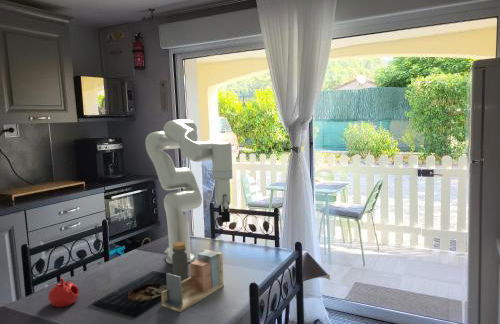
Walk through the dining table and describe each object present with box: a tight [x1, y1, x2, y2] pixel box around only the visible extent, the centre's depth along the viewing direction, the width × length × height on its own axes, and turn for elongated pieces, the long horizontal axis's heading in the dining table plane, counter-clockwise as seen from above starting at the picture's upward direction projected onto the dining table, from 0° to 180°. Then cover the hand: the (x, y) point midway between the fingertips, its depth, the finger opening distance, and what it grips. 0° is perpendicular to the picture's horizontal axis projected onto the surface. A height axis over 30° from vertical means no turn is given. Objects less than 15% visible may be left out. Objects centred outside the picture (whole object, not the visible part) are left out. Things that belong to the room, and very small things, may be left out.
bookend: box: [164, 272, 183, 308], centre depth 129 cm, size 6×2×10 cm, turn 56°
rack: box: [160, 248, 225, 313], centre depth 137 cm, size 9×23×13 cm, turn 146°
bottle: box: [171, 242, 189, 281], centre depth 150 cm, size 6×6×15 cm
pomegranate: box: [47, 277, 80, 308], centre depth 135 cm, size 10×10×9 cm
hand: (224, 218), depth 146 cm, fingers open, 9 cm apart
